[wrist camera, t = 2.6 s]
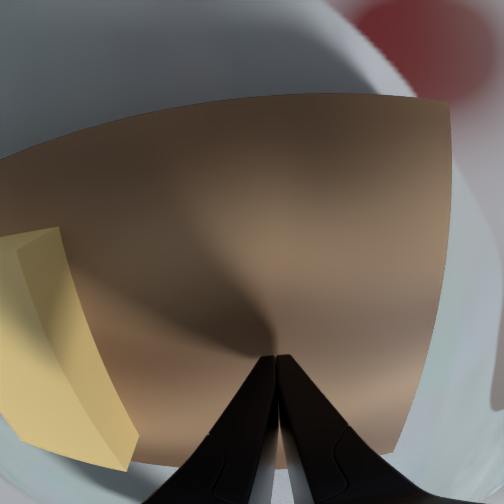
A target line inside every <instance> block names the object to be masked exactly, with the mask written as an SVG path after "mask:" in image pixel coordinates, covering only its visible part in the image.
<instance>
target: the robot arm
mask: <svg viewBox="0 0 504 504" xmlns="http://www.w3.org/2000/svg"><path fill="white" fill-rule="evenodd" d="M278 407H279V408H278ZM279 423H280V431H281V437H282V442H283V447H284V452H285V457H286V462H287V467H288V472H289V478H290V483H291V488H292V493H293V498H294V503H295V504H484V503H476V502H469V501H462V500H456V499H450V498H445V497H440V496H436V495H433V494H430V493H428V492H426V491H424V490H422V489H421V488H419V487H418V486H416V485H415V484H414V483H412V482H411V481H410V480H409V479H407V478H406V477H405V476H404V475H402V474H401V473H400V472H399V471H397V470H396V469H395V468H394V467H393V466H391V465H390V464H389V463H388V462H386V461H385V460H384V459H383V458H382V457H381V456H380V455H378V454H377V453H376V452H375V451H374V450H373V449H372V448H371V447H370V446H369V445H368V444H367V443H366V442H365V441H364V440H363V439H362V438H361V437H360V436H359V435H358V434H357V433H356V431H355V430H354V429H353V428H352V427H351V426H349V423H348V422H347V421H346V420H345V419H344V418H343V416H342V415H341V414H340V413H339V412H338V411H337V409H336V408H335V407H334V406H333V405H332V404H331V402H330V401H329V400H328V399H327V398H326V396H325V395H324V394H323V393H322V392H321V390H320V389H319V388H318V387H317V386H316V384H315V383H314V382H313V381H312V380H311V378H310V377H309V376H308V375H307V374H306V372H305V371H304V370H303V369H302V368H301V366H300V365H299V364H298V363H297V361H296V360H295V359H294V358H293V357H292V355H290V354H281V355H277V356H276V357H275V356H274V355H266V356H261V357H260V358H259V359H258V361H257V363H256V364H255V366H254V367H253V369H252V370H251V372H250V373H249V375H248V376H247V378H246V379H245V381H244V382H243V384H242V385H241V387H240V388H239V390H238V391H237V392H236V394H235V395H234V397H233V398H232V400H231V401H230V403H229V404H228V406H227V407H226V408H225V410H224V411H223V413H222V414H221V416H220V417H219V418H218V420H217V421H216V423H215V424H214V425H213V427H212V428H211V430H210V431H209V432H208V434H209V435H206V436H205V438H204V439H203V441H202V442H201V443H200V445H199V446H198V447H197V448H196V450H195V451H194V452H193V453H192V455H191V456H190V457H189V458H188V459H187V460H186V461H185V462H184V464H183V465H182V466H181V467H180V468H179V469H178V470H177V471H176V472H175V473H174V474H173V475H172V476H171V477H170V478H169V479H168V480H167V481H165V482H164V483H163V484H162V485H161V486H160V487H159V488H158V489H157V490H156V491H155V492H154V493H153V494H152V495H151V496H149V497H148V498H147V499H146V500H145V501H144V502H143V503H141V504H271V496H272V488H273V480H274V472H275V463H276V454H277V445H278V435H279Z"/></svg>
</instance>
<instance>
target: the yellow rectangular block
mask: <svg viewBox="0 0 504 504" xmlns="http://www.w3.org/2000/svg"><path fill="white" fill-rule="evenodd" d="M0 412H1V414H2V415H3V417H4V418H5V419H6V421H7V422H8V424H9V425H10V426H11V428H12V429H13V430H14V431H15V433H16V434H17V435H18V437H19V438H20V439H21V440H22V441H23V442H26V443H28V444H31V445H33V446H36V447H39V448H41V449H44V450H47V451H50V452H53V453H56V454H59V455H62V456H65V457H69V458H72V459H75V460H79V461H83V462H86V463H90V464H94V465H98V466H102V467H106V468H111V469H115V470H120V471H125V472H127V469H128V466H129V464H130V461H131V458H132V455H133V452H134V449H135V447H136V444H137V441H138V438H139V434H138V432H137V430H136V429H135V427H134V425H133V423H132V421H131V419H130V418H129V416H128V414H127V412H126V410H125V408H124V406H123V404H122V402H121V400H120V398H119V396H118V394H117V392H116V390H115V388H114V386H113V384H112V381H111V379H110V377H109V375H108V373H107V370H106V368H105V366H104V364H103V361H102V359H101V357H100V354H99V352H98V349H97V347H96V344H95V342H94V339H93V337H92V334H91V332H90V329H89V326H88V324H87V321H86V318H85V315H84V313H83V310H82V307H81V304H80V301H79V298H78V295H77V292H76V289H75V285H74V282H73V279H72V276H71V272H70V269H69V265H68V262H67V258H66V254H65V250H64V247H63V243H62V239H61V234H60V230H59V227H53V228H48V229H42V230H36V231H31V232H25V233H20V234H14V235H9V236H4V237H0Z"/></svg>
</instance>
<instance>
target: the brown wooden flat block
mask: <svg viewBox="0 0 504 504" xmlns="http://www.w3.org/2000/svg"><path fill="white" fill-rule="evenodd" d="M451 188H452V148H451V126H450V112H449V102H447V101H440V100H432V99H424V98H415V97H405V96H392V95H376V94H346V93H319V94H289V95H272V96H259V97H248V98H238V99H230V100H221V101H214V102H207V103H200V104H194V105H187V106H182V107H176V108H170V109H165V110H160V111H155V112H150V113H146V114H141V115H137V116H132V117H128V118H124V119H120V120H116V121H112V122H108V123H105V124H101V125H97V126H94V127H90V128H87V129H84V130H80V131H77V132H74V133H71V134H68V135H64V136H61V137H58V138H56V139H53V140H50V141H47V142H44V143H41V144H39V145H36V146H33V147H31V148H28V149H25V150H23V151H20V152H18V153H15V154H13V155H11V156H8V157H6V158H3V159H1V160H0V237H4V236H9V235H14V234H20V233H25V232H31V231H36V230H42V229H48V228H53V227H59V230H60V234H61V239H62V243H63V247H64V250H65V254H66V258H67V262H68V265H69V269H70V272H71V276H72V279H73V282H74V285H75V289H76V292H77V295H78V298H79V301H80V304H81V307H82V310H83V313H84V315H85V318H86V321H87V324H88V326H89V329H90V332H91V334H92V337H93V339H94V342H95V344H96V347H97V349H98V352H99V354H100V357H101V359H102V361H103V364H104V366H105V368H106V370H107V373H108V375H109V377H110V379H111V381H112V384H113V386H114V388H115V390H116V392H117V394H118V396H119V398H120V400H121V402H122V404H123V406H124V408H125V410H126V412H127V414H128V416H129V418H130V419H131V421H132V423H133V425H134V427H135V429H136V430H137V432H138V434H139V438H138V441H137V444H136V447H135V449H134V452H133V455H132V458H131V461H134V462H141V463H147V464H154V465H162V466H171V467H181V466H182V465H183V464H184V462H185V461H186V460H187V459H188V458H189V457H190V456H191V455H192V453H193V452H194V451H195V450H196V448H197V447H198V446H199V445H200V443H201V442H202V441H203V439H204V438H205V436H206V435H209V434H208V432H209V431H210V430H211V428H212V427H213V425H214V424H215V423H216V421H217V420H218V418H219V417H220V416H221V414H222V413H223V411H224V410H225V408H226V407H227V406H228V404H229V403H230V401H231V400H232V398H233V397H234V395H235V394H236V392H237V391H238V390H239V388H240V387H241V385H242V384H243V382H244V381H245V379H246V378H247V376H248V375H249V373H250V372H251V370H252V369H253V367H254V366H255V364H256V363H257V361H258V359H259V358H260V357H261V356H266V355H274V356H275V357H276V356H277V355H281V354H290V355H292V357H293V358H294V359H295V360H296V361H297V363H298V364H299V365H300V366H301V368H302V369H303V370H304V371H305V372H306V374H307V375H308V376H309V377H310V378H311V380H312V381H313V382H314V383H315V384H316V386H317V387H318V388H319V389H320V390H321V392H322V393H323V394H324V395H325V396H326V398H327V399H328V400H329V401H330V402H331V404H332V405H333V406H334V407H335V408H336V409H337V411H338V412H339V413H340V414H341V415H342V416H343V418H344V419H345V420H346V421H347V422H348V423H349V426H351V427H352V428H353V429H354V430H355V431H356V433H357V434H358V435H359V436H360V437H361V438H362V439H363V440H364V441H365V442H366V443H367V444H368V445H369V446H370V447H371V448H372V449H373V450H374V451H375V452H376V453H377V454H378V455H383V454H387V453H392V452H393V451H394V449H395V446H396V444H397V442H398V439H399V437H400V434H401V432H402V429H403V427H404V424H405V422H406V419H407V416H408V413H409V411H410V408H411V405H412V402H413V399H414V396H415V393H416V390H417V387H418V384H419V381H420V378H421V374H422V371H423V367H424V364H425V360H426V357H427V353H428V349H429V345H430V341H431V337H432V333H433V329H434V324H435V320H436V315H437V310H438V305H439V300H440V294H441V289H442V283H443V276H444V270H445V262H446V254H447V246H448V236H449V225H450V211H451ZM278 408H279V407H278ZM275 469H288V467H287V462H286V457H285V452H284V447H283V442H282V437H281V431H280V423H279V435H278V445H277V454H276V463H275Z"/></svg>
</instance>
